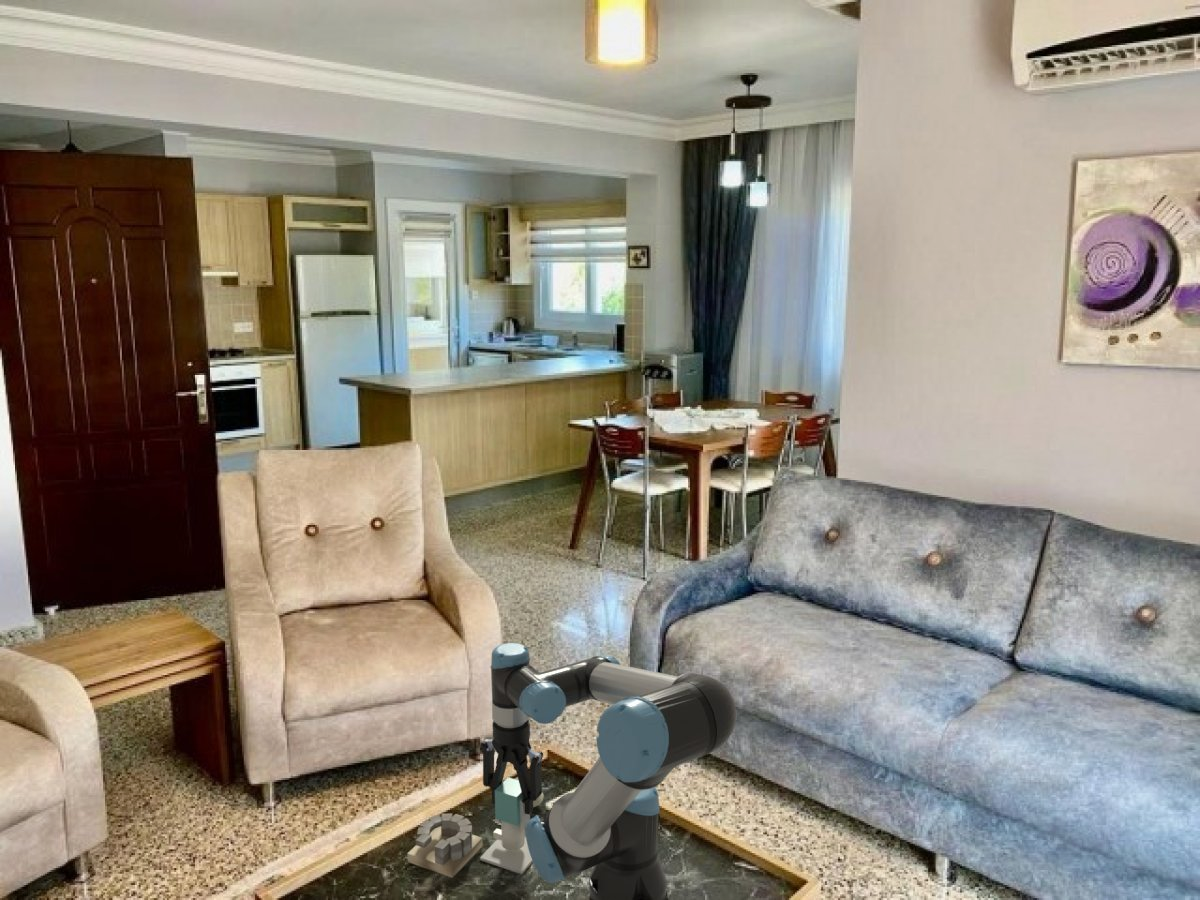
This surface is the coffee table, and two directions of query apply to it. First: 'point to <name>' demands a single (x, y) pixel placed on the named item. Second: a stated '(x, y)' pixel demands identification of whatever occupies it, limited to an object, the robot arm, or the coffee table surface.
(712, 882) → the coffee table surface
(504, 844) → the plug
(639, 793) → the robot arm
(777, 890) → the coffee table surface
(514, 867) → the mat
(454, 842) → the socket
